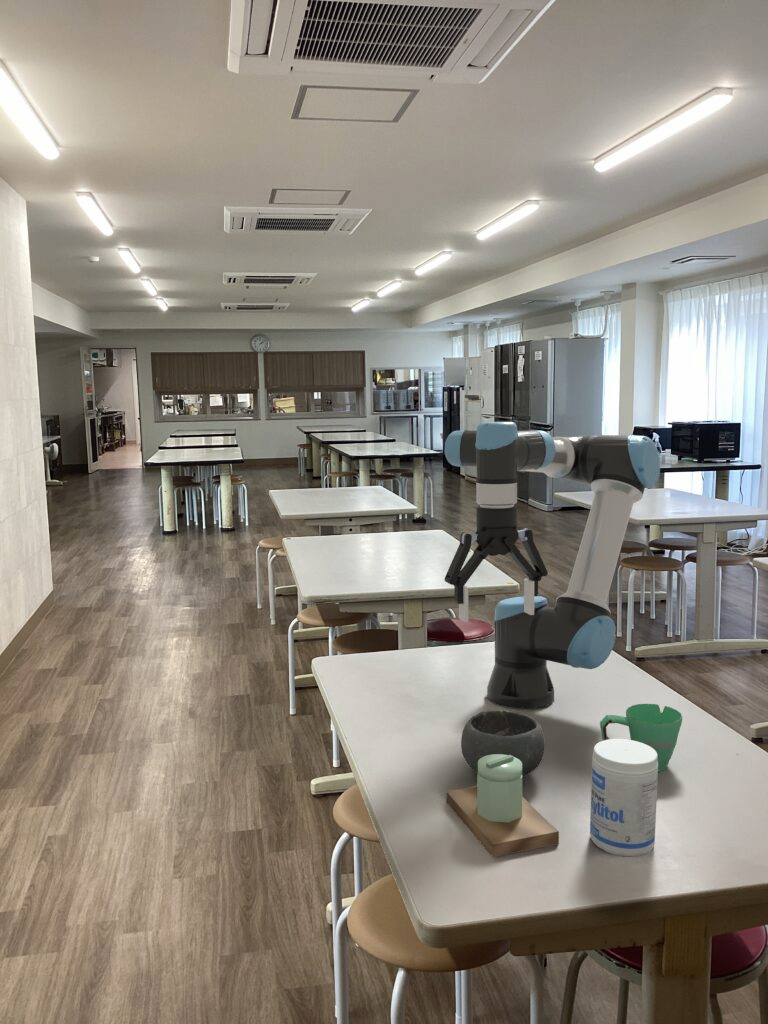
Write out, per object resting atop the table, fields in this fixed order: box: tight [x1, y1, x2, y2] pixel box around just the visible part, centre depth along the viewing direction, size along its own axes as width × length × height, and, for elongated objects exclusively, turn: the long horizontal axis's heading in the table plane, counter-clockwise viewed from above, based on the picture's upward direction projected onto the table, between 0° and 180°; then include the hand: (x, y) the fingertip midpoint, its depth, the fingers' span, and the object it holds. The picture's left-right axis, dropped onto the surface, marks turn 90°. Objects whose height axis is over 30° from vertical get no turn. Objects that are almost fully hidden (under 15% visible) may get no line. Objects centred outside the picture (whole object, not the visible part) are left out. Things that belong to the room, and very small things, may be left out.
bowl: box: [460, 710, 546, 778], centre depth 149 cm, size 15×15×10 cm
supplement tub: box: [589, 738, 659, 857], centre depth 125 cm, size 10×10×15 cm
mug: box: [599, 703, 683, 772], centre depth 152 cm, size 15×10×10 cm
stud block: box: [446, 785, 560, 858], centre depth 133 cm, size 11×18×8 cm, turn 18°
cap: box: [476, 754, 523, 822], centre depth 132 cm, size 7×7×9 cm
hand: (496, 617), depth 157 cm, fingers open, 13 cm apart
